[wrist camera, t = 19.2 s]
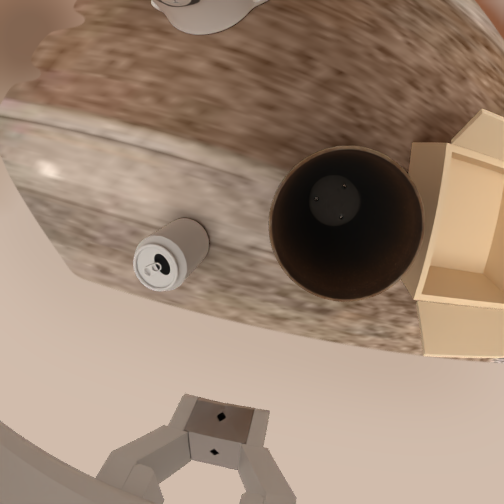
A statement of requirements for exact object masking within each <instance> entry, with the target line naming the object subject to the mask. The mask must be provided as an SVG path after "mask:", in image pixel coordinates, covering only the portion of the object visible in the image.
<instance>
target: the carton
mask: <svg viewBox="0 0 504 504" xmlns="http://www.w3.org/2000/svg"><path fill="white" fill-rule="evenodd" d="M408 175H409V176H410V177H411V179H412V180H413V182H414V183H415V185H416V187H417V189H418V191H419V193H420V196H421V199H422V203H423V207H424V214H425V231H424V238H423V242H422V246H421V248H420V251H419V254H418V256H417V258H416V260H415V261H414V263H413V265H412V266H411V268H410V269H409V270H408V272H407V273H406V274H405V275H404V276H403V277H402V278H401V280H402V282H403V283H404V285H405V286H406V288H407V290H408V291H409V293H410V295H411V296H412V298H413V300H421V301H429V302H438V303H447V304H456V305H465V306H475V307H485V308H495V309H504V161H501V160H498V159H496V158H493V157H490V156H487V155H484V154H481V153H478V152H475V151H472V150H469V149H466V148H463V147H460V146H456V145H453V144H450V143H437V142H412V147H411V156H410V163H409V170H408Z"/></svg>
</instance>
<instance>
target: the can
mask: <svg viewBox="0 0 504 504" xmlns="http://www.w3.org/2000/svg"><path fill="white" fill-rule="evenodd" d="M208 249H209V239H208V236H207V233H206V231H205V230H204V228H203V227H202V226H201V225H200V224H199V223H197V222H196V221H194V220H191V219H188V218H180V219H177V220H174V221H172V222H171V223H169V224H168V225H166V226H164V227H163V228H161V229H159V230H158V231H156V232H154V233H153V234H151V235H150V236H148V237H146V238H145V239H144V240H142V241H141V242H140V243H139V245H138V246H137V248H136V251H135V255H134V260H133V267H134V271H135V274H136V276H137V278H138V279H139V280H140V282H141V283H142V284H143V285H145V286H146V287H147V288H149V289H151V290H153V291H160V292H161V291H169V290H174V289H176V288H177V287H179V286H180V285H181V284H182V283H183V282H184V281H185V280H186V278H187V277H188V276H189V275H190V274H191V273H192V272H193V270H194V269H195V268H196V267H197V266H198V265H199V264H200V263H201V261H202V260H203V259H204V258H205V256H206V255H207V253H208Z"/></svg>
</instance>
